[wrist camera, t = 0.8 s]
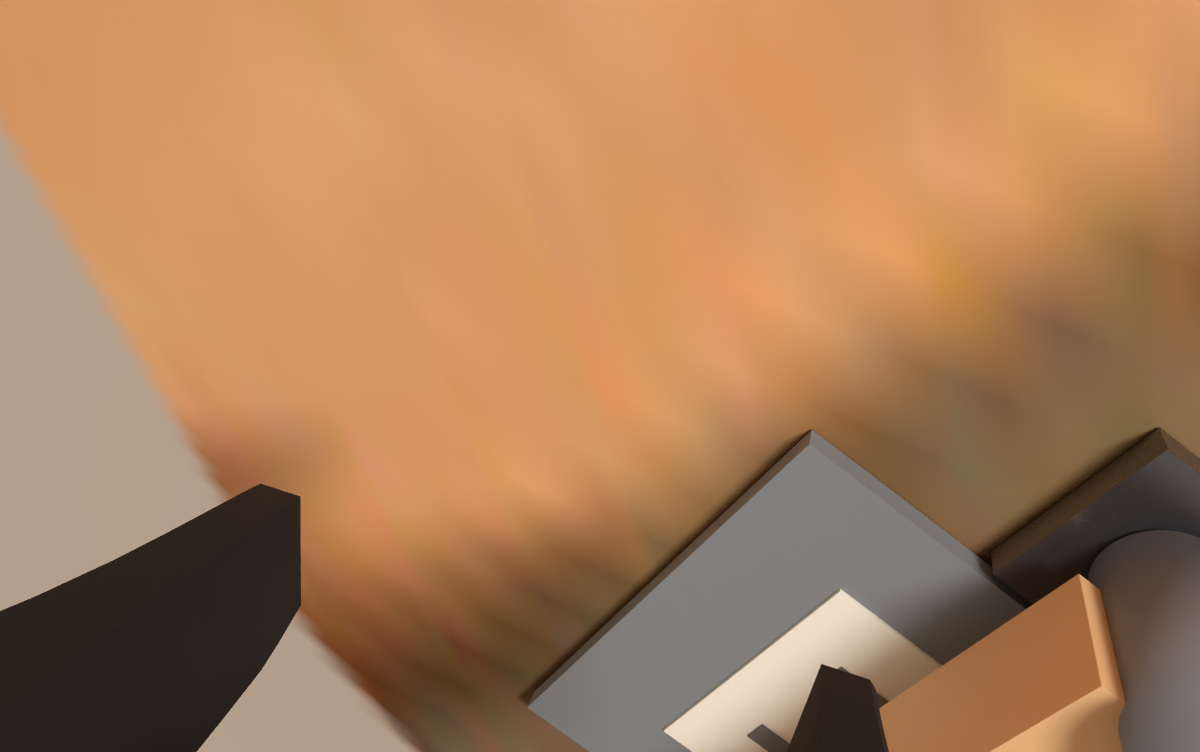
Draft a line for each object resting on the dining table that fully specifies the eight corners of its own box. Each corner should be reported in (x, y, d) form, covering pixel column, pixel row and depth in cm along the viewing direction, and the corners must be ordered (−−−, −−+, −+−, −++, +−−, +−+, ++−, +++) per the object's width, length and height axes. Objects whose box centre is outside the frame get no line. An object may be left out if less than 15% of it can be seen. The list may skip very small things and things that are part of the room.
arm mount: (1325, 558, 20) (1339, 584, 19) (1142, 666, 22) (1148, 693, 22) (1159, 427, 20) (1167, 448, 19) (991, 551, 22) (993, 574, 21)
